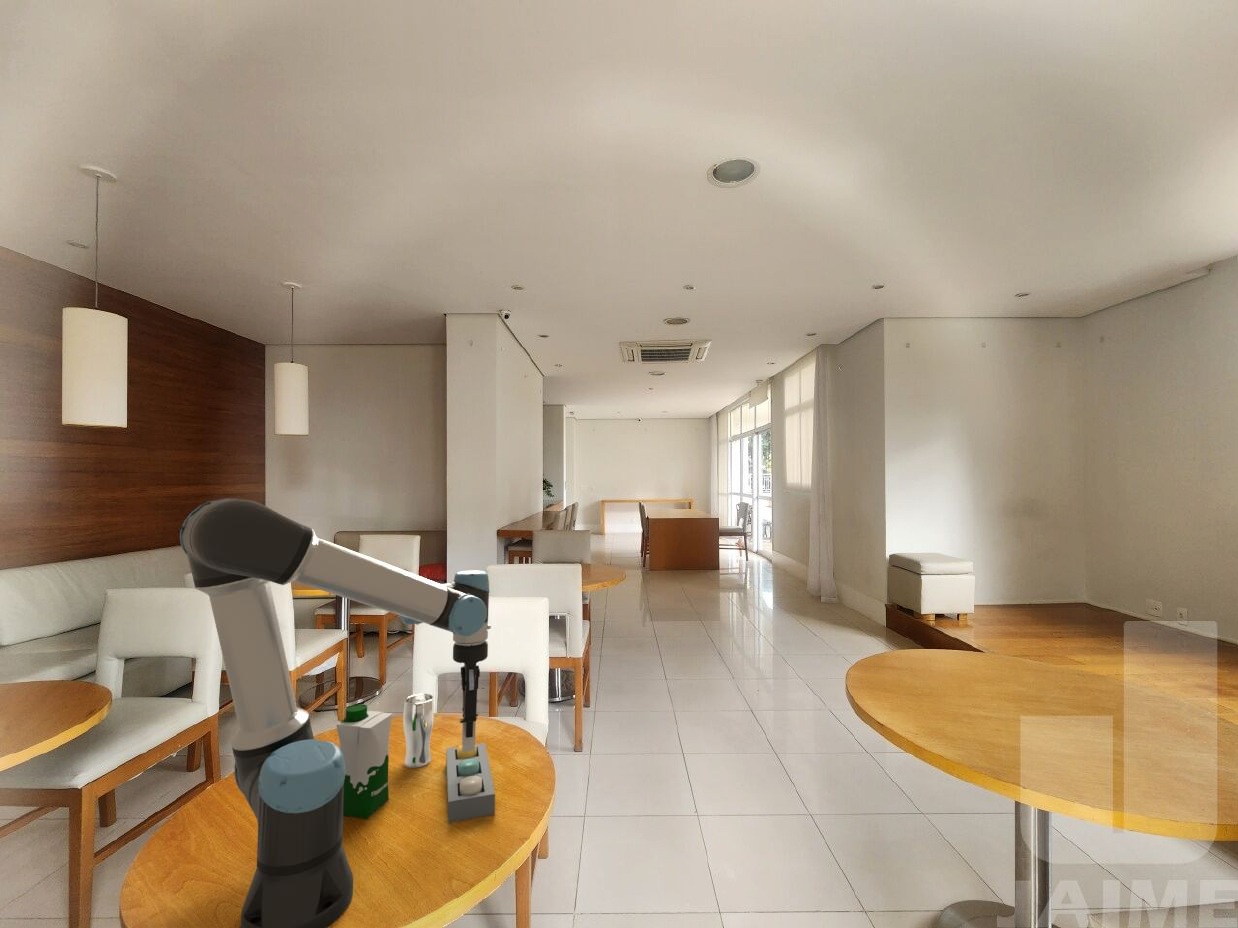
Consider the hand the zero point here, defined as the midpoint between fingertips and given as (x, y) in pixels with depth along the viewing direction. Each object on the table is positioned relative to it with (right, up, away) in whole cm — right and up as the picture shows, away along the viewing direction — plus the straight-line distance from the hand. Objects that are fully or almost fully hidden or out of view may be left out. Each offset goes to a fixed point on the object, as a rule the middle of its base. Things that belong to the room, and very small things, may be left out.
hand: (468, 749), depth 121 cm
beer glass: (-15, -9, +11) cm, 21 cm away
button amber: (-2, -7, +7) cm, 10 cm away
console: (0, -8, 0) cm, 8 cm away
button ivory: (+3, -6, -8) cm, 10 cm away
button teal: (0, -6, 0) cm, 6 cm away
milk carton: (-19, -8, -8) cm, 22 cm away
